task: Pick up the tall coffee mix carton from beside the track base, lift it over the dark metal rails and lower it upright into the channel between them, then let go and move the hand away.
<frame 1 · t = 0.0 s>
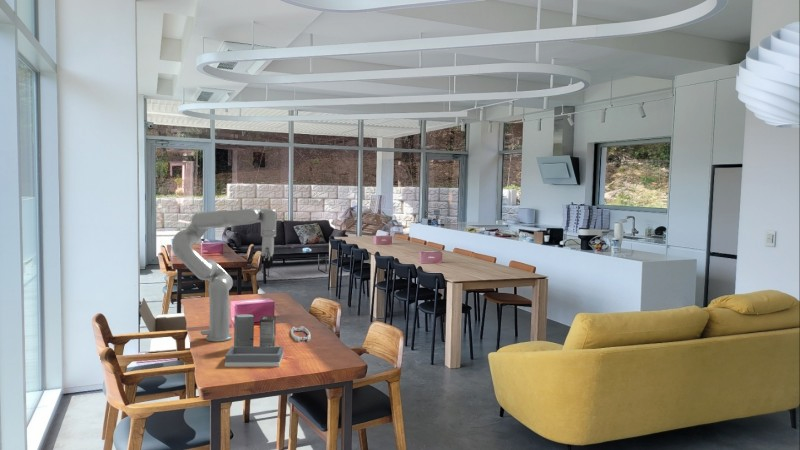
hand: (268, 267, 284), 37 cm above the table, tool pointing down, fingers open, 9 cm apart
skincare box: (243, 348, 270), on the table
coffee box: (267, 351, 265), on the table
door track: (255, 360, 250), on the table
grey bumpy ring: (300, 336, 294), on the table
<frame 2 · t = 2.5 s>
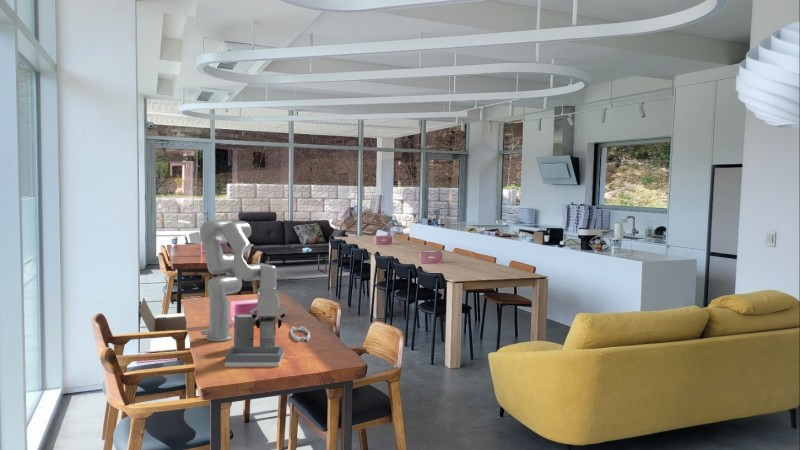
hand: (268, 327, 263), 11 cm above the table, tool pointing down, fingers open, 9 cm apart
nothing on the table moved.
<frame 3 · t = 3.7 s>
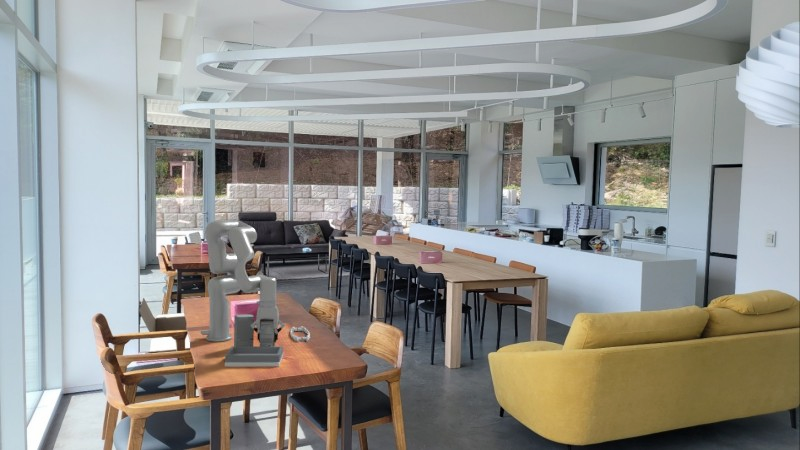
hand: (267, 341, 264), 5 cm above the table, tool pointing down, fingers closed on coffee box, 6 cm apart
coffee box: (267, 351, 265), on the table, touching gripper
everything else where it was.
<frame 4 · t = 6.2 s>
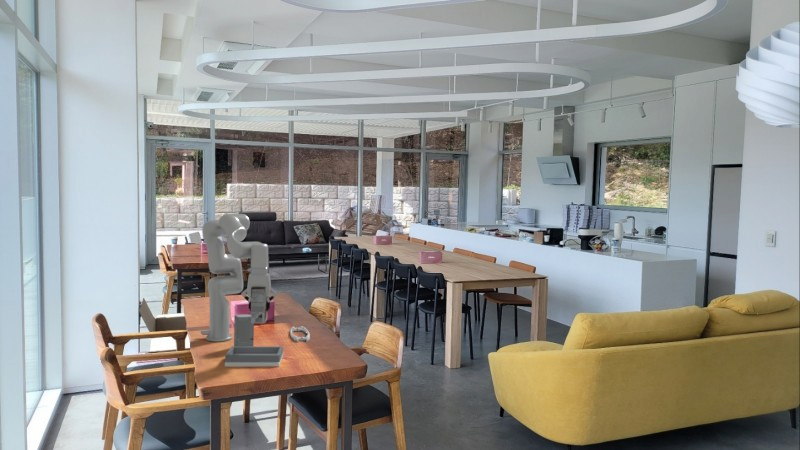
hand: (259, 310, 253), 22 cm above the table, tool pointing down, fingers closed on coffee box, 6 cm apart
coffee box: (259, 321, 253), point 17 cm above the table, touching gripper
everything else where it was.
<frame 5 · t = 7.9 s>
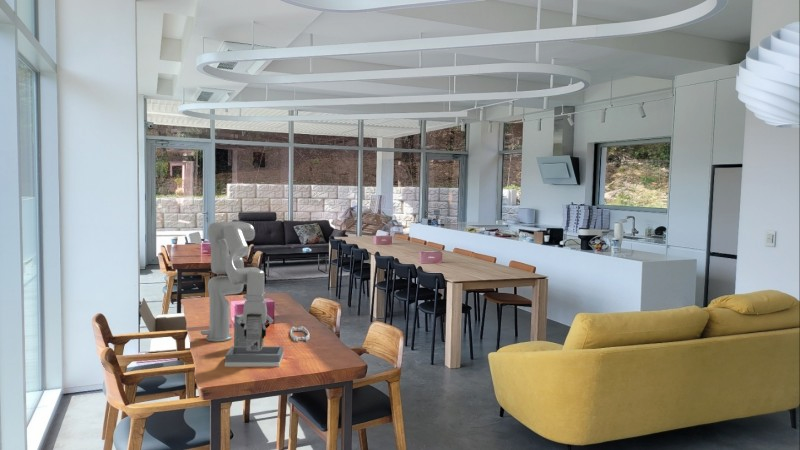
hand: (255, 337, 250), 11 cm above the table, tool pointing down, fingers closed on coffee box, 6 cm apart
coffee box: (254, 348, 250), point 5 cm above the table, touching gripper
everything else where it was.
when the fingers open (7 cm above the table, at t = 9.0 s): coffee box drops 1 cm, resting on door track.
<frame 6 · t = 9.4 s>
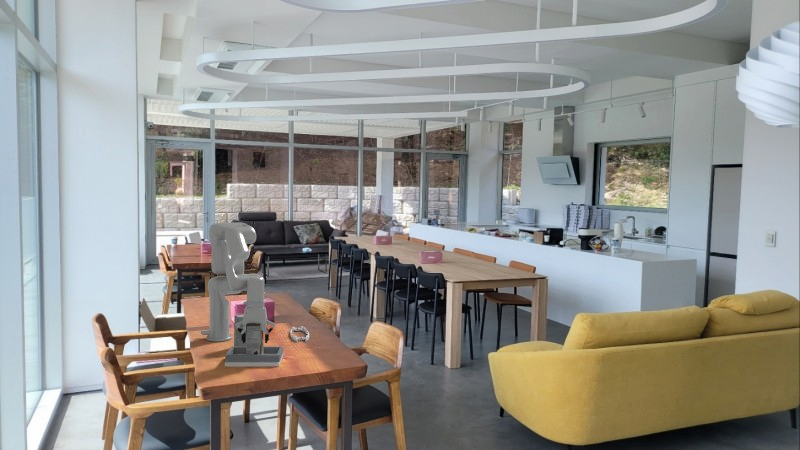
hand: (255, 342, 250), 8 cm above the table, tool pointing down, fingers open, 9 cm apart
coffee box: (255, 357, 250), point 1 cm above the table, touching door track
everything else where it was.
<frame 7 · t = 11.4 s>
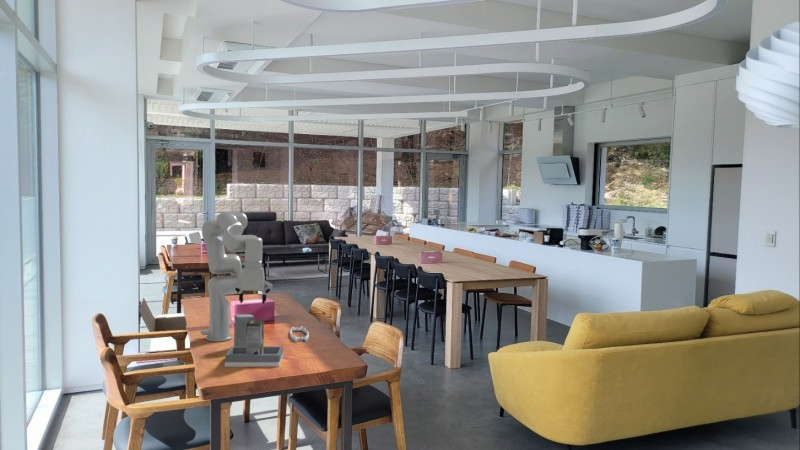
hand: (252, 302, 252), 25 cm above the table, tool pointing down, fingers open, 9 cm apart
nothing on the table moved.
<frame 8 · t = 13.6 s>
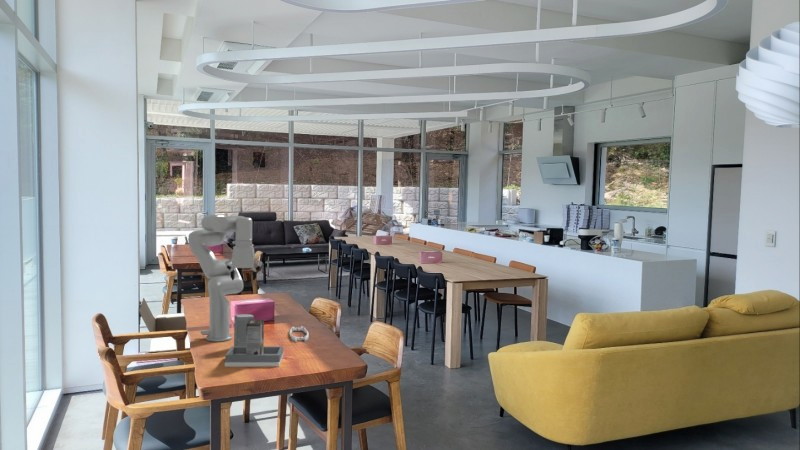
hand: (243, 279, 265), 33 cm above the table, tool pointing down, fingers open, 9 cm apart
nothing on the table moved.
at the end: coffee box inside the target area on the door track (0.2 cm from its centre), point 1.3 cm above the door track's base; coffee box tilted 0°; the gripper is holding nothing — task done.
